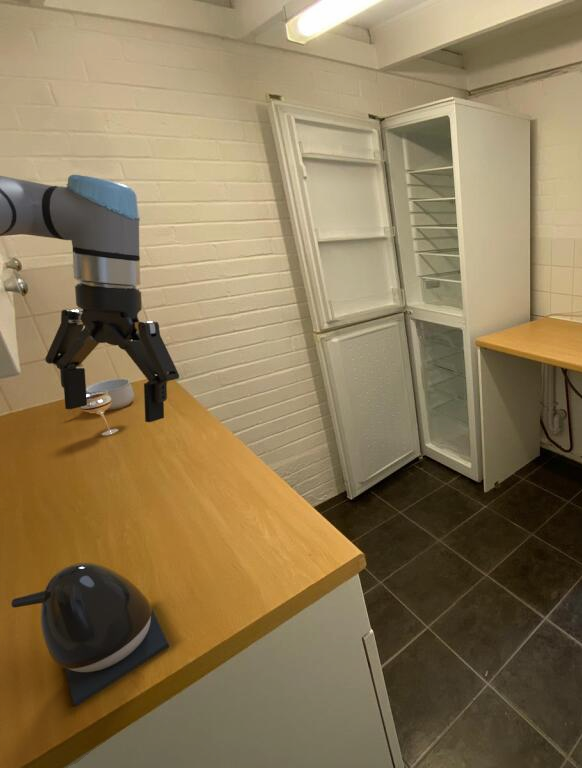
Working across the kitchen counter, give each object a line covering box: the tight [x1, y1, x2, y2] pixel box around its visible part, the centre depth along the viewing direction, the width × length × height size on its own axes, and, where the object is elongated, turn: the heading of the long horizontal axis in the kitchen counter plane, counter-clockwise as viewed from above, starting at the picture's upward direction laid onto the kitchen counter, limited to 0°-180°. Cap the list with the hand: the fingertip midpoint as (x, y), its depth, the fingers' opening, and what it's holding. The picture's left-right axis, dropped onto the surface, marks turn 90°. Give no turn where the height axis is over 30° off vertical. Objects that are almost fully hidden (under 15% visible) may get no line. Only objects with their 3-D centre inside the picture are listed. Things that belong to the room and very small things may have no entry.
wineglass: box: [79, 391, 119, 436], centre depth 118 cm, size 7×7×12 cm
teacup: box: [86, 378, 135, 412], centre depth 135 cm, size 14×11×8 cm
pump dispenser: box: [10, 562, 153, 672], centre depth 56 cm, size 10×10×15 cm
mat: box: [65, 609, 170, 708], centre depth 60 cm, size 10×10×1 cm
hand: (115, 413), depth 70 cm, fingers open, 13 cm apart
